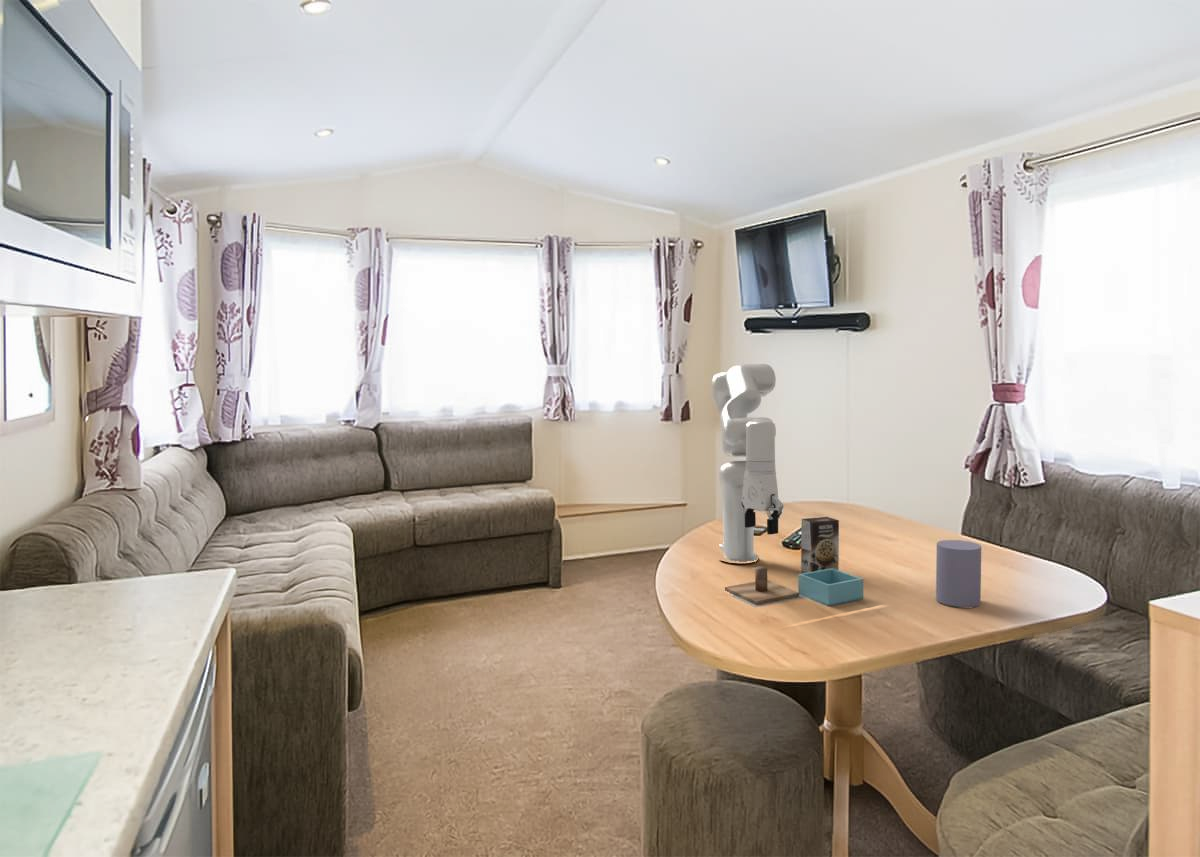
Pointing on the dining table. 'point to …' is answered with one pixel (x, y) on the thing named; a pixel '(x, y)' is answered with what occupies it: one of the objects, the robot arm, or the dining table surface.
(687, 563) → the dining table surface
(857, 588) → the open box
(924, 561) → the dining table surface
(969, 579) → the container
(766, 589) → the lid
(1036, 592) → the dining table surface
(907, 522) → the dining table surface
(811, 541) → the coffee box
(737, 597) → the mat
